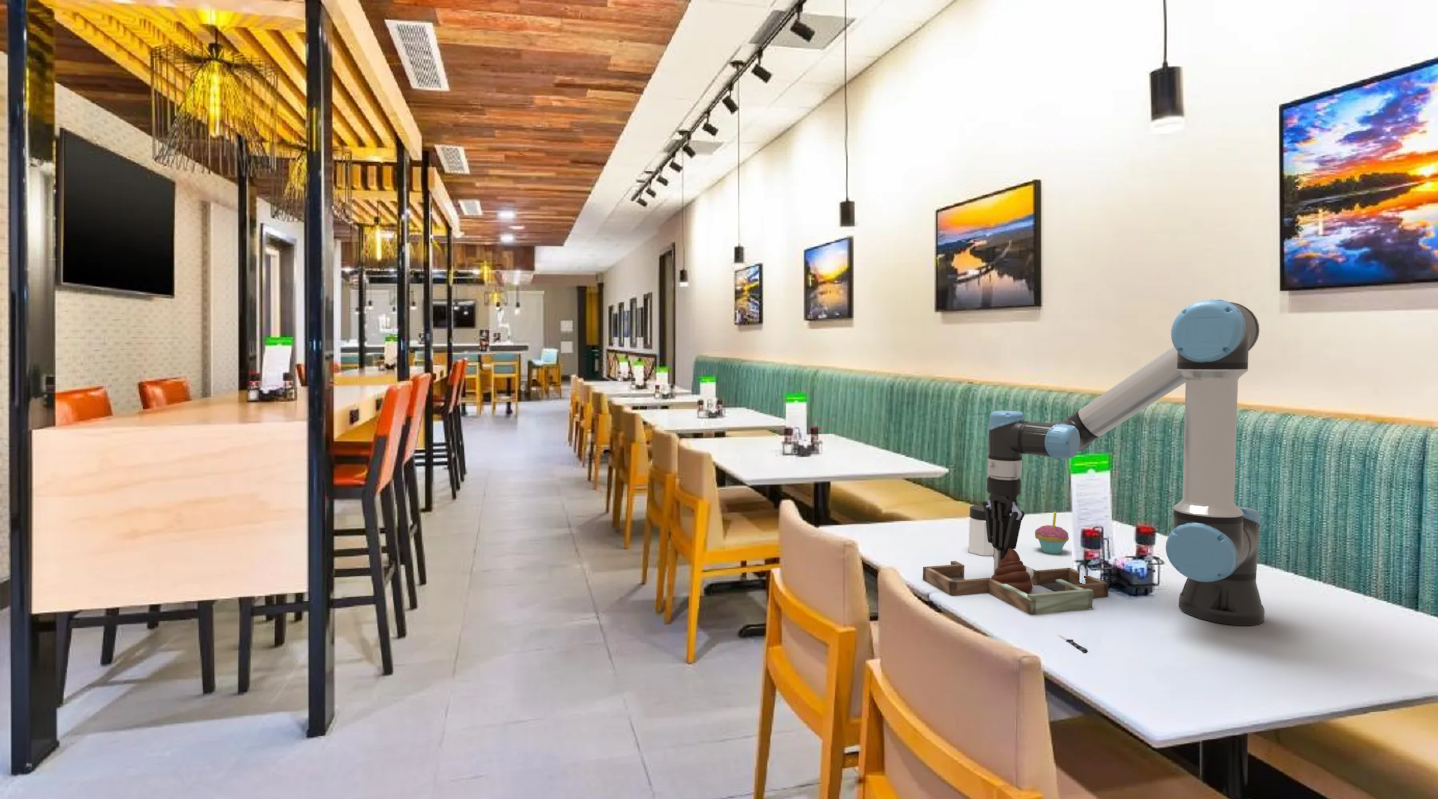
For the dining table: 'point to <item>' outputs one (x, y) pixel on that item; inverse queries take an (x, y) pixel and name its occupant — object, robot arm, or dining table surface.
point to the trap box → (1059, 580)
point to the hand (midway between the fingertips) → (1000, 575)
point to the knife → (1074, 644)
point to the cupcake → (1051, 537)
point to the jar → (979, 533)
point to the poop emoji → (1014, 572)
